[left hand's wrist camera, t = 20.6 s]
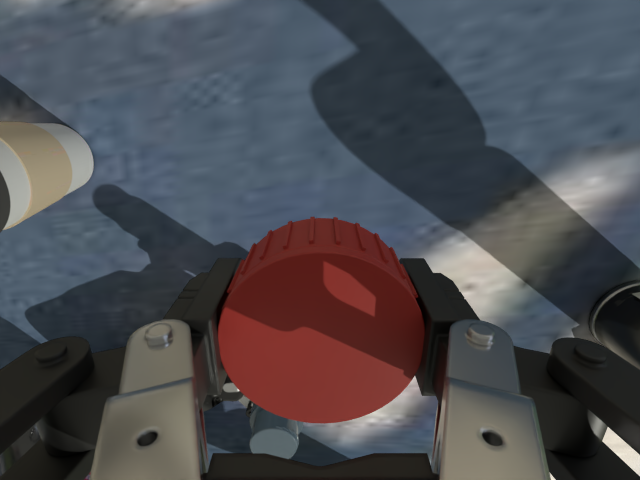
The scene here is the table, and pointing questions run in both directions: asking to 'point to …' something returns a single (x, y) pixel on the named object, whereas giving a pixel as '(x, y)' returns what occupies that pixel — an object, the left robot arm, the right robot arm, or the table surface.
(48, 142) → the coffee cup
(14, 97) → the table surface
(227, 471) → the left robot arm
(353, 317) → the lid
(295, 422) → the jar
